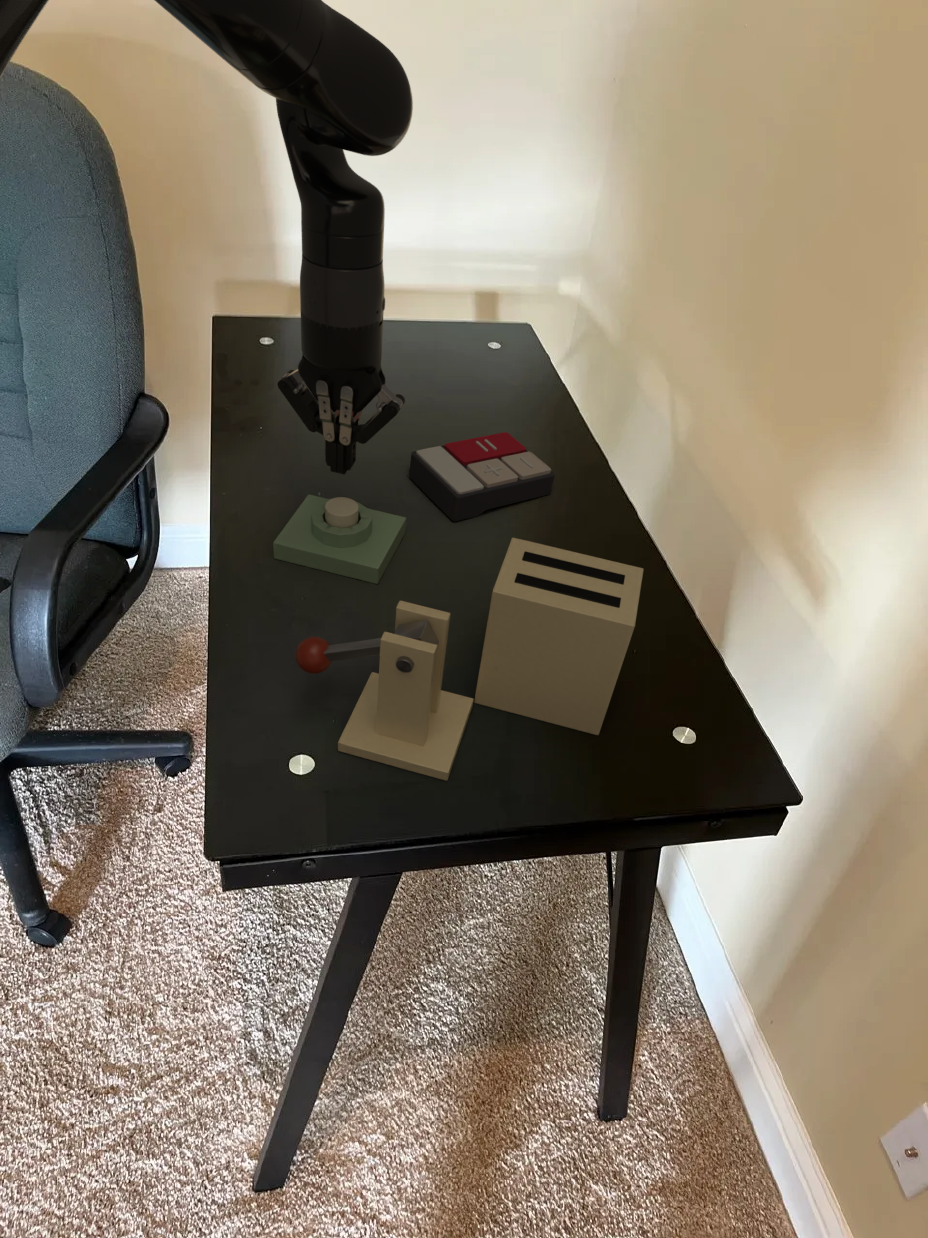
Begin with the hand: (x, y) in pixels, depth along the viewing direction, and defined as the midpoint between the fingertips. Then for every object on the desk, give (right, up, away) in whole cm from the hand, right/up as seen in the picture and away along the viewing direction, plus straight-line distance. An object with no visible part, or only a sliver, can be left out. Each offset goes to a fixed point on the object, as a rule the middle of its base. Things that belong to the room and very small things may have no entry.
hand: (340, 469), depth 87 cm
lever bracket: (+8, -26, -12) cm, 29 cm away
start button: (-1, -5, +4) cm, 6 cm away
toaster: (+21, -23, -7) cm, 31 cm away
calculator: (+15, +1, +19) cm, 24 cm away
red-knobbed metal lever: (+5, -19, -16) cm, 26 cm away
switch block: (-1, -7, +7) cm, 10 cm away
